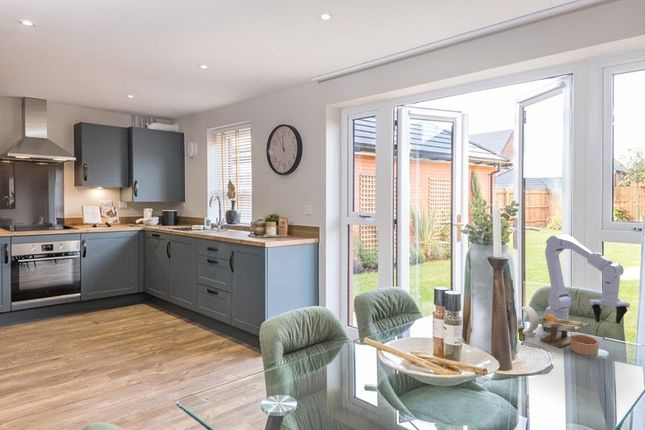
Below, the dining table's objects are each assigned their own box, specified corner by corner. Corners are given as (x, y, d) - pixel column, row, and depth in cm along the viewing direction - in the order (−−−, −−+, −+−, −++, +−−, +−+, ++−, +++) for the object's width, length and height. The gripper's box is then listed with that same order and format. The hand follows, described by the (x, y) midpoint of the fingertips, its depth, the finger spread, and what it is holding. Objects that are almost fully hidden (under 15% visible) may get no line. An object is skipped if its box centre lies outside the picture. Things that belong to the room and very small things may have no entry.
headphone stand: (526, 330, 205) (528, 305, 203) (537, 335, 199) (539, 309, 198) (519, 332, 203) (521, 307, 201) (530, 337, 197) (532, 311, 196)
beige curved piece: (540, 331, 196) (539, 319, 196) (554, 325, 202) (553, 313, 202) (576, 338, 183) (575, 325, 183) (590, 332, 189) (589, 319, 189)
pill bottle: (520, 347, 187) (521, 322, 186) (505, 343, 191) (506, 318, 189) (523, 342, 192) (525, 317, 191) (509, 338, 196) (510, 314, 194)
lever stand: (540, 341, 193) (541, 324, 192) (556, 334, 200) (557, 318, 199) (560, 348, 185) (562, 331, 184) (576, 341, 193) (577, 324, 192)
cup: (565, 348, 185) (565, 338, 185) (577, 342, 191) (578, 332, 190) (590, 357, 177) (591, 346, 177) (602, 351, 183) (603, 340, 182)
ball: (543, 323, 196) (543, 314, 196) (548, 321, 198) (547, 312, 198) (552, 325, 192) (551, 316, 192) (557, 323, 195) (556, 314, 194)
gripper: (594, 293, 184) (591, 324, 185) (634, 295, 180) (630, 327, 182) (588, 288, 190) (586, 318, 192) (626, 290, 187) (623, 321, 189)
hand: (607, 322), depth 188 cm, fingers open, 7 cm apart
